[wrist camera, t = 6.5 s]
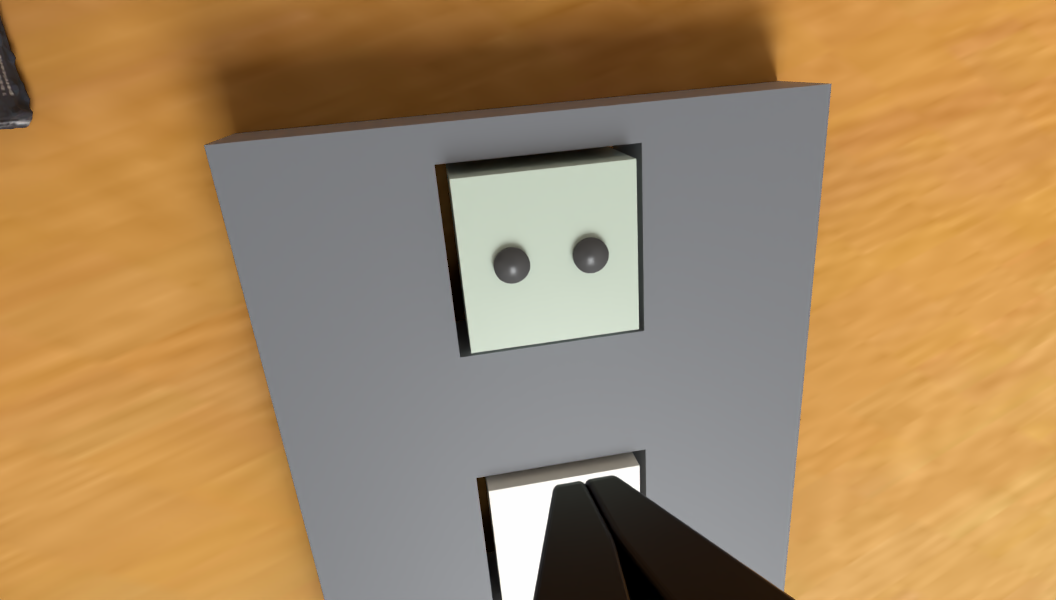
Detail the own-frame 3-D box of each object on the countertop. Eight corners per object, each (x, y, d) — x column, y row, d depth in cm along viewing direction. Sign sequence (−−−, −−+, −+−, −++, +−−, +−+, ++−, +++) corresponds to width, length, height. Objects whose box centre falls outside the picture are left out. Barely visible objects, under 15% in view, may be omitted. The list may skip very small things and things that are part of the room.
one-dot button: (494, 550, 22) (504, 611, 19) (480, 442, 20) (489, 494, 18) (618, 527, 22) (642, 584, 20) (614, 420, 21) (641, 468, 18)
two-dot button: (464, 316, 18) (472, 355, 16) (445, 163, 17) (449, 180, 14) (612, 296, 19) (640, 331, 17) (607, 145, 17) (638, 159, 15)
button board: (390, 766, 25) (387, 837, 23) (234, 133, 16) (204, 145, 14) (739, 688, 27) (769, 746, 25) (778, 81, 18) (831, 83, 16)
